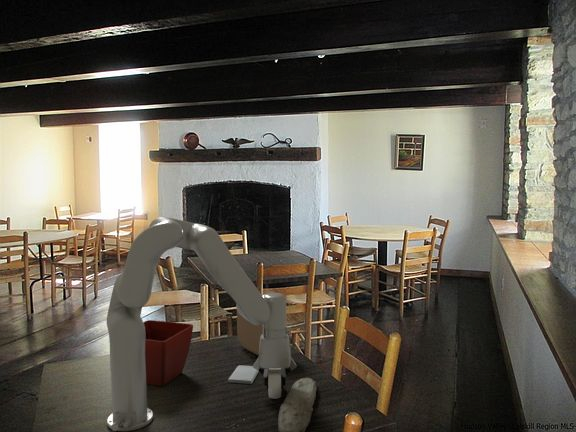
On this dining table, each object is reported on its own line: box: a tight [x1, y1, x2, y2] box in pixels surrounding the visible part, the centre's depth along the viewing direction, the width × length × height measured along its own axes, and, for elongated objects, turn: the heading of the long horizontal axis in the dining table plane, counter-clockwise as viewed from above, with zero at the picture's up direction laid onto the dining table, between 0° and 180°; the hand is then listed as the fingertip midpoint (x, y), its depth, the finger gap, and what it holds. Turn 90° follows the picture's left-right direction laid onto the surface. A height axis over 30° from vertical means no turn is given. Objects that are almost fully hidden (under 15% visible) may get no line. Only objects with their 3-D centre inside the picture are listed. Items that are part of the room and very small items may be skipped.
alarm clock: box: [236, 310, 263, 357], centre depth 199 cm, size 21×10×22 cm, turn 37°
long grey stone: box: [277, 377, 318, 432], centre depth 152 cm, size 35×5×10 cm
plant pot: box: [143, 319, 194, 387], centre depth 175 cm, size 19×19×17 cm
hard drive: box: [227, 365, 260, 385], centre depth 177 cm, size 2×8×12 cm
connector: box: [267, 368, 282, 400], centre depth 164 cm, size 11×4×7 cm, turn 0°
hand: (275, 387), depth 164 cm, fingers closed on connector, 4 cm apart
